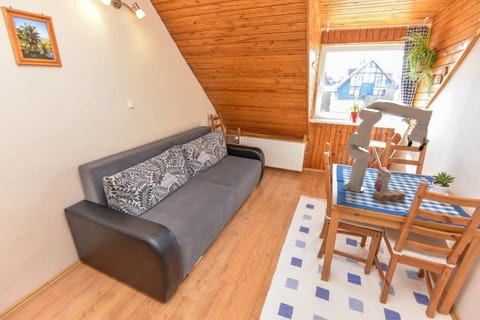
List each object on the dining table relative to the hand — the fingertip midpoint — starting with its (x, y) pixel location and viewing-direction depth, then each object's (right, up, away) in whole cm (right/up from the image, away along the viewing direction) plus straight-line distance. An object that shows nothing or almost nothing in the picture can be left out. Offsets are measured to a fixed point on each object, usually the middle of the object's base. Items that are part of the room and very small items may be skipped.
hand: (414, 148), depth 168 cm
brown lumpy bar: (-28, -37, -11) cm, 47 cm away
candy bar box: (-25, -32, +3) cm, 40 cm away
